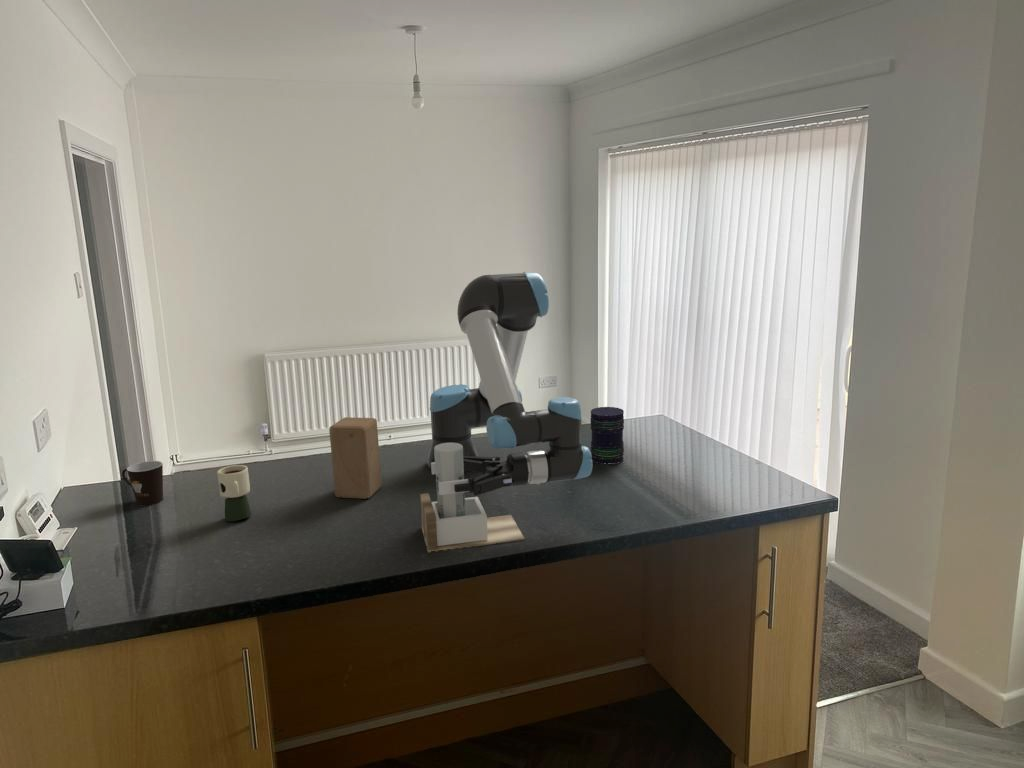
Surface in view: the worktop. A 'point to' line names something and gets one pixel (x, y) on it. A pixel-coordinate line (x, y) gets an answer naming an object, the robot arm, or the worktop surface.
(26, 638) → the worktop surface
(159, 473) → the coffee mug
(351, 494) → the wooden block
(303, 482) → the worktop surface
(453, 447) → the spray can
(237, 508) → the character mug
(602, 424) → the storage jar
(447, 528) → the sleeve
